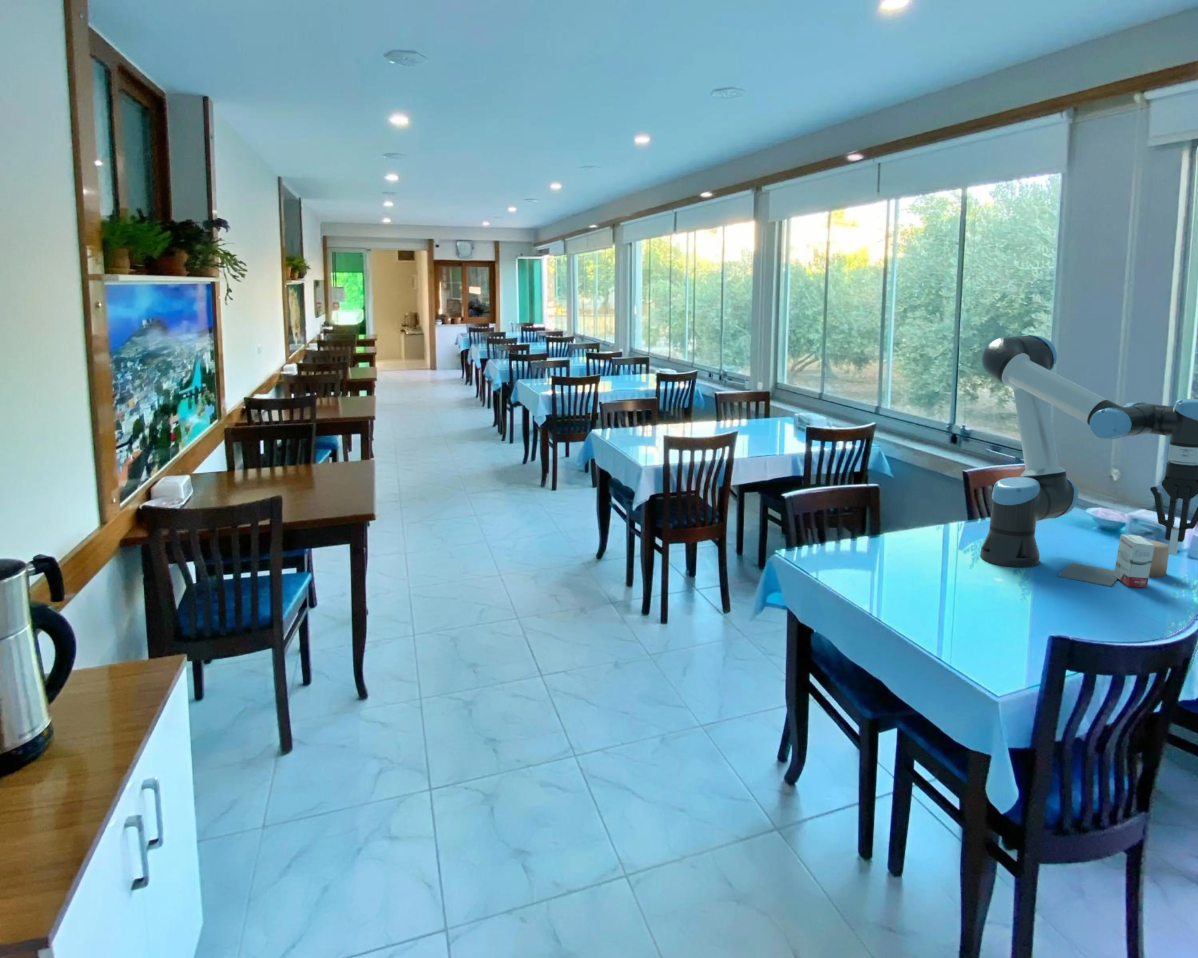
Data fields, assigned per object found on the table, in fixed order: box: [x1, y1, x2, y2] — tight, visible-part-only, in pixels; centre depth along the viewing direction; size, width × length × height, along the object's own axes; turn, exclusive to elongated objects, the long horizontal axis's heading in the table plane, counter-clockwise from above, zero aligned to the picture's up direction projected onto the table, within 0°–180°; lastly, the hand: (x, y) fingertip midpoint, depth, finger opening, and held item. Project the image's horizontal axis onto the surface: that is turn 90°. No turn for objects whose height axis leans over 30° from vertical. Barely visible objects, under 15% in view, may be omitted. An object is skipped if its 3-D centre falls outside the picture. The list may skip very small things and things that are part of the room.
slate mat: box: [1057, 562, 1119, 588], centre depth 209 cm, size 12×14×1 cm
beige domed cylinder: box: [1147, 540, 1170, 578], centre depth 209 cm, size 7×7×8 cm
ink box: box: [1113, 533, 1155, 589], centre depth 201 cm, size 9×5×12 cm, turn 168°
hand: (1172, 552), depth 195 cm, fingers closed
